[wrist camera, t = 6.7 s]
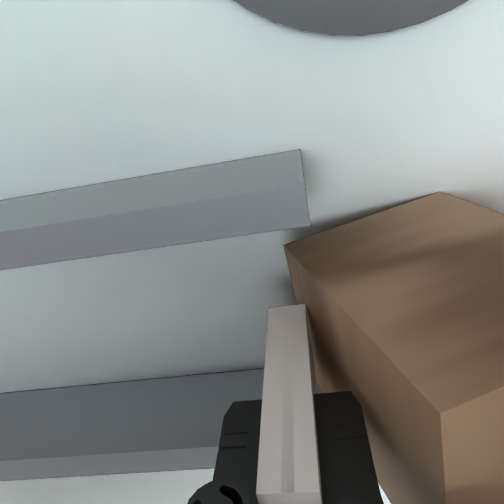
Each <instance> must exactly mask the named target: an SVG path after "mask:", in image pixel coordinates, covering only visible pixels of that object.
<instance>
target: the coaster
mask: <svg viewBox="0 0 504 504" xmlns="http://www.w3.org/2000/svg"><path fill="white" fill-rule="evenodd" d="M234 1H235V2H237V3H238V4H240V5H241V6H243V7H244V8H246V9H247V10H249V11H251V12H253V13H255V14H257V15H259V16H261V17H263V18H265V19H267V20H269V21H271V22H273V23H276V24H279V25H282V26H286V27H289V28H292V29H295V30H298V31H302V32H308V33H315V34H321V35H327V36H360V35H367V34H375V33H382V32H390V31H393V30H397V29H401V28H404V27H408V26H411V25H415V24H419V23H422V22H424V21H426V20H429V19H431V18H434V17H436V16H438V15H441V14H443V13H445V12H448V11H450V10H452V9H454V8H456V7H458V6H459V5H461V4H463V3H465V2H466V1H468V0H234Z"/></svg>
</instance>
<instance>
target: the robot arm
mask: <svg viewBox="0 0 504 504" xmlns="http://www.w3.org/2000/svg"><path fill="white" fill-rule="evenodd" d="M218 448H219V451H218V453H217V459H216V465H215V471H214V477H213V481H212V482H209V483H207V484H205V485H204V486H202V487H201V488H199V489H198V490H197V491H196V492H195V493H194V494H193V496H192V497H191V498H190V499H189V501H188V504H384V503H383V500H382V497H381V494H380V490H379V485H378V481H377V476H376V471H375V467H374V462H373V457H372V453H371V448H370V443H369V439H368V434H367V429H366V425H365V420H364V415H363V411H362V406H361V404H360V403H359V401H358V400H357V399H356V397H355V396H354V395H353V394H352V392H351V391H342V392H331V393H319V394H317V387H316V376H315V366H314V360H313V353H312V347H311V340H310V334H309V327H308V321H307V314H306V308H305V304H298V305H288V306H279V307H271V308H268V320H267V336H266V351H265V366H264V381H263V396H262V399H259V400H247V401H235V402H233V403H232V404H231V406H230V407H229V409H228V411H227V412H226V414H225V415H224V417H223V423H222V429H221V437H220V441H219V447H218Z"/></svg>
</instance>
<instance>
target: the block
mask: <svg viewBox="0 0 504 504" xmlns="http://www.w3.org/2000/svg"><path fill="white" fill-rule="evenodd" d="M283 246H284V250H285V254H286V259H287V263H288V267H289V271H290V276H291V280H292V284H293V289H294V293H295V297H296V301H297V305H298V304H305V308H306V314H307V321H308V327H309V334H310V340H311V347H312V353H313V360H314V366H315V376H316V382H317V384H318V385H319V387H320V388H321V390H322V392H323V393H331V392H342V391H351V392H352V394H353V395H354V396H355V397H356V399H357V400H358V401H359V403H360V404H361V406H362V411H363V415H364V420H365V425H366V429H367V434H368V439H369V443H370V448H371V453H372V457H373V462H374V467H375V471H376V476H377V481H378V483H379V484H380V486H381V488H382V489H383V491H384V492H385V494H386V496H387V497H388V499H389V501H390V502H391V504H504V214H502V213H499V212H496V211H493V210H490V209H487V208H485V207H482V206H479V205H476V204H473V203H470V202H468V201H465V200H462V199H459V198H456V197H453V196H450V195H448V194H445V193H442V192H437V193H434V194H431V195H428V196H425V197H422V198H419V199H417V200H414V201H411V202H408V203H405V204H402V205H399V206H396V207H393V208H390V209H387V210H384V211H382V212H379V213H376V214H373V215H370V216H367V217H364V218H361V219H358V220H355V221H352V222H349V223H347V224H344V225H341V226H338V227H335V228H332V229H329V230H326V231H323V232H320V233H317V234H314V235H312V236H309V237H306V238H303V239H300V240H297V241H294V242H291V243H288V244H285V245H283Z"/></svg>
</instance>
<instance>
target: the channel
mask: <svg viewBox="0 0 504 504" xmlns="http://www.w3.org/2000/svg"><path fill="white" fill-rule="evenodd" d="M306 226H310V220H309V213H308V205H307V198H306V190H305V183H304V176H303V168H302V161H301V154H300V149H299V150H293V151H287V152H281V153H276V154H270V155H264V156H258V157H252V158H246V159H240V160H234V161H229V162H223V163H217V164H211V165H205V166H199V167H193V168H188V169H182V170H176V171H170V172H164V173H158V174H152V175H146V176H141V177H135V178H129V179H123V180H117V181H111V182H105V183H99V184H94V185H88V186H82V187H76V188H70V189H64V190H58V191H53V192H47V193H41V194H35V195H29V196H23V197H17V198H11V199H6V200H0V270H5V269H12V268H19V267H26V266H33V265H40V264H47V263H54V262H61V261H68V260H75V259H82V258H89V257H96V256H103V255H110V254H117V253H124V252H131V251H138V250H145V249H152V248H159V247H166V246H173V245H180V244H187V243H194V242H201V241H208V240H215V239H222V238H229V237H236V236H243V235H250V234H257V233H264V232H271V231H278V230H285V229H292V228H299V227H306ZM263 381H264V369H254V370H244V371H233V372H223V373H212V374H201V375H191V376H180V377H170V378H159V379H149V380H138V381H127V382H117V383H106V384H96V385H85V386H74V387H64V388H53V389H43V390H32V391H22V392H11V393H0V481H10V480H26V479H43V478H60V477H76V476H93V475H110V474H126V473H143V472H159V471H176V470H193V469H209V468H215V465H216V459H217V453H218V451H219V448H218V447H219V441H220V437H221V429H222V423H223V417H224V415H225V414H226V412H227V411H228V409H229V407H230V406H231V404H232V403H233V402H235V401H247V400H259V399H262V396H263ZM316 387H317V394H319V393H323V392H322V390H321V388H320V387H319V385H318V384H317V382H316Z"/></svg>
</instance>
